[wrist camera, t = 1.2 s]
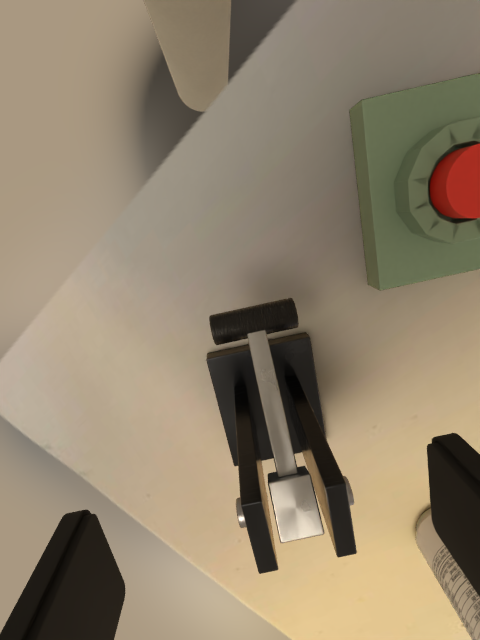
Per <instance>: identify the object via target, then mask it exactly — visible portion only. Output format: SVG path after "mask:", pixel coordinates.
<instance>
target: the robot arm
mask: <svg viewBox="0 0 480 640" xmlns="http://www.w3.org/2000/svg"><path fill="white" fill-rule="evenodd" d="M427 456H428V471H429V487H430V502H431V518H432V523H433V526H434V529H435V531H436V533H437V534H438V536H439V538H440V539H441V541H442V542H443V543H444V545H445V546H446V548H447V549H448V551H449V552H450V554H451V555H452V557H453V558H454V560H455V561H456V563H457V564H458V566H459V567H460V569H461V570H462V572H463V573H464V575H465V576H466V578H467V579H468V581H469V582H470V584H471V585H472V587H473V588H474V590H475V591H476V593H477V594H478V596H479V597H480V454H479V453H478V452H476V451H475V450H474V449H473V448H472V447H471V446H470V445H469V444H468V443H467V442H466V441H465V440H464V439H462V438H461V437H460V436H459V435H458V434H456V433H451V434H447V435H442V436H437V437H434V438H433V439H432V444H428V445H427ZM124 598H125V584H124V580H123V578H122V576H121V573H120V571H119V568H118V566H117V564H116V561H115V559H114V556H113V554H112V552H111V549H110V547H109V544H108V542H107V539H106V537H105V535H104V533H103V530H102V528H101V525H100V523H99V520H98V518H97V516H96V515H95V514H91V513H90V511H88V510H82V511H77V512H72V513H67V514H65V515H64V516H63V517H62V519H61V521H60V523H59V525H58V527H57V528H56V530H55V532H54V534H53V536H52V538H51V540H50V542H49V543H48V545H47V547H46V549H45V551H44V553H43V555H42V557H41V559H40V560H39V562H38V564H37V566H36V568H35V570H34V571H33V573H32V575H31V577H30V579H29V581H28V583H27V585H26V587H25V588H24V590H23V592H22V594H21V596H20V598H19V600H18V602H17V603H16V605H15V607H14V609H13V611H12V613H11V615H10V617H9V618H8V620H7V622H6V624H5V626H4V628H3V630H2V632H1V634H0V640H114V637H115V633H116V629H117V626H118V622H119V617H120V614H121V610H122V606H123V602H124Z"/></svg>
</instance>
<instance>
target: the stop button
mask: <svg viewBox="0 0 480 640" xmlns="http://www.w3.org/2000/svg"><path fill="white" fill-rule="evenodd" d="M430 197H431V201H432V203H433V205H434V207H435V208H436V209H437V210H438V211H439V212H440V213H441V214H443V215H445V216H447V217H451V218H480V143H479V144H476V145H472V146H468V147H465V148H461V149H458V150H455V151H453V152H451V153H450V154H448V155H447V156H445V157H444V158H443V159H442V160H441V161H440V163H439V164H438V165H437V167H436V168H435V170H434V172H433V174H432V177H431V181H430Z"/></svg>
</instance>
